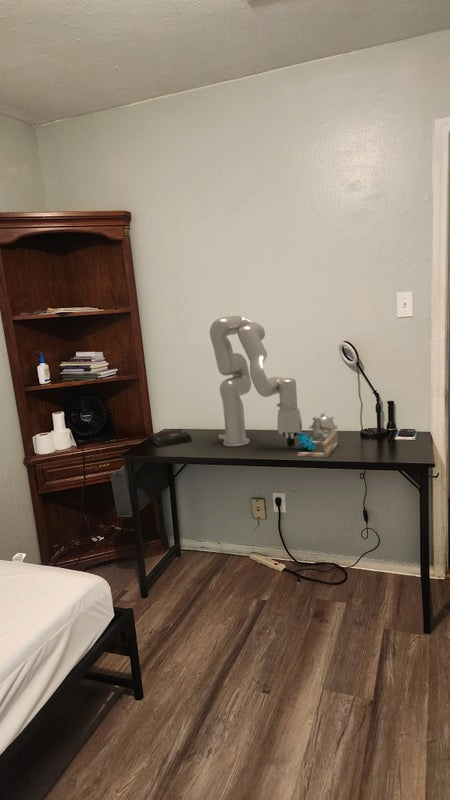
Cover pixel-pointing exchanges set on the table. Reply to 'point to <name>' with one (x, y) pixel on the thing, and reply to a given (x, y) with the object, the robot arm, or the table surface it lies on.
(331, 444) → the gear bay
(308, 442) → the blue spiky oval
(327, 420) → the gear
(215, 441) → the table surface
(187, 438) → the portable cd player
